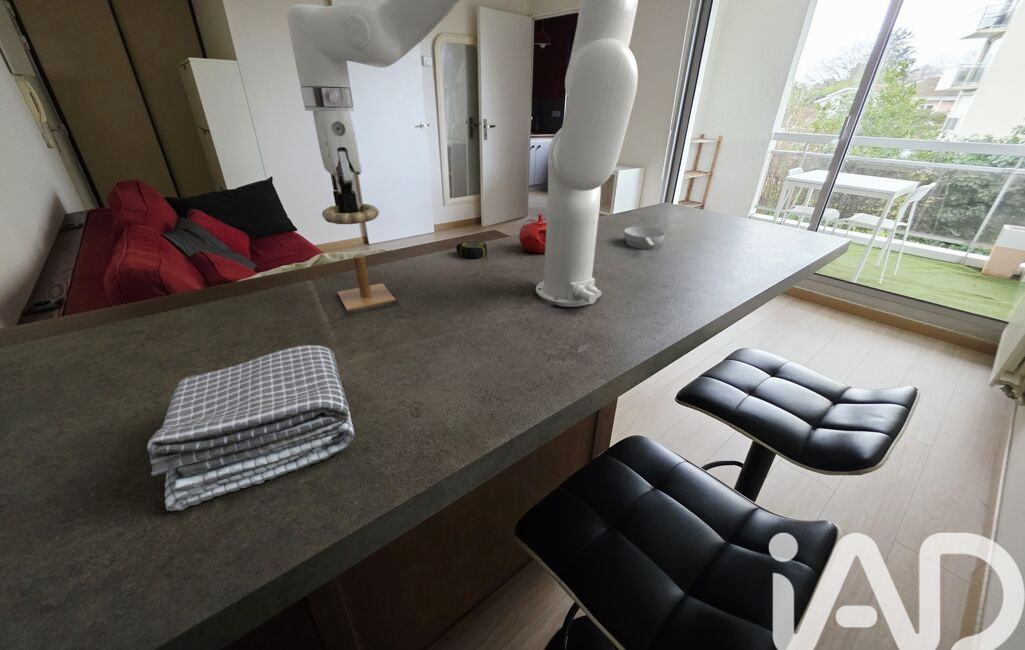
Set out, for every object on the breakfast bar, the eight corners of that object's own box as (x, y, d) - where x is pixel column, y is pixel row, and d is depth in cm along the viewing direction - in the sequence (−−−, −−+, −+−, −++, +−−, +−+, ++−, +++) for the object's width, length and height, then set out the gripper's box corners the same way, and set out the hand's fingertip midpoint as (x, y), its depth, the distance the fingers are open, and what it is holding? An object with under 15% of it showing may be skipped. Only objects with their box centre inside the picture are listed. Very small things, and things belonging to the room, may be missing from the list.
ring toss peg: (396, 304, 80) (389, 259, 75) (347, 315, 76) (338, 267, 71) (383, 288, 87) (376, 245, 82) (338, 297, 82) (328, 252, 78)
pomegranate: (511, 251, 109) (512, 215, 104) (532, 241, 116) (533, 208, 112) (544, 258, 104) (545, 221, 99) (563, 248, 111) (565, 213, 107)
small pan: (659, 239, 119) (661, 226, 117) (671, 260, 103) (674, 245, 102) (621, 237, 120) (622, 224, 118) (627, 258, 105) (629, 243, 103)
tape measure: (481, 252, 108) (481, 238, 106) (491, 260, 102) (491, 246, 100) (456, 255, 105) (455, 241, 103) (464, 264, 100) (464, 249, 98)
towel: (361, 451, 46) (349, 395, 43) (159, 519, 39) (121, 459, 35) (340, 380, 58) (329, 331, 54) (181, 421, 50) (155, 368, 47)
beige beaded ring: (385, 221, 72) (383, 211, 71) (329, 228, 68) (327, 217, 67) (371, 210, 79) (369, 200, 78) (320, 215, 75) (317, 205, 74)
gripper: (363, 101, 63) (379, 221, 72) (342, 100, 75) (358, 203, 84) (310, 100, 60) (334, 227, 69) (297, 100, 72) (319, 207, 81)
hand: (347, 213), depth 76 cm, fingers closed on beige beaded ring, 2 cm apart
